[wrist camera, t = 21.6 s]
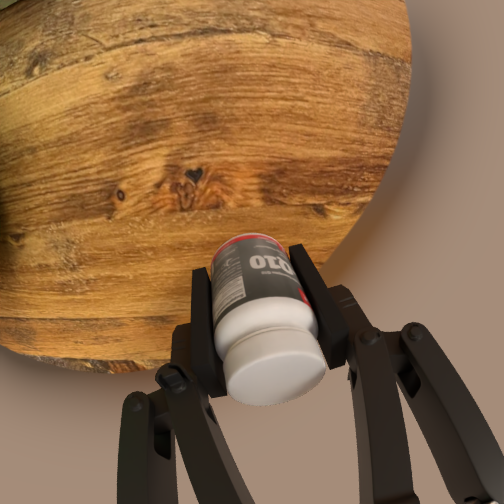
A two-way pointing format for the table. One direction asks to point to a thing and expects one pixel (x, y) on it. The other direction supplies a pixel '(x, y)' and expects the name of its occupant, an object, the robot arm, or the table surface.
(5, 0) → the bowl
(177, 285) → the table surface
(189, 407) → the robot arm
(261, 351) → the pill bottle
